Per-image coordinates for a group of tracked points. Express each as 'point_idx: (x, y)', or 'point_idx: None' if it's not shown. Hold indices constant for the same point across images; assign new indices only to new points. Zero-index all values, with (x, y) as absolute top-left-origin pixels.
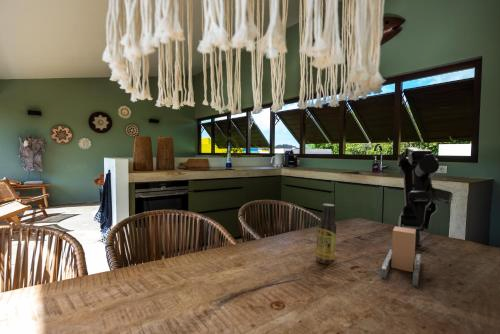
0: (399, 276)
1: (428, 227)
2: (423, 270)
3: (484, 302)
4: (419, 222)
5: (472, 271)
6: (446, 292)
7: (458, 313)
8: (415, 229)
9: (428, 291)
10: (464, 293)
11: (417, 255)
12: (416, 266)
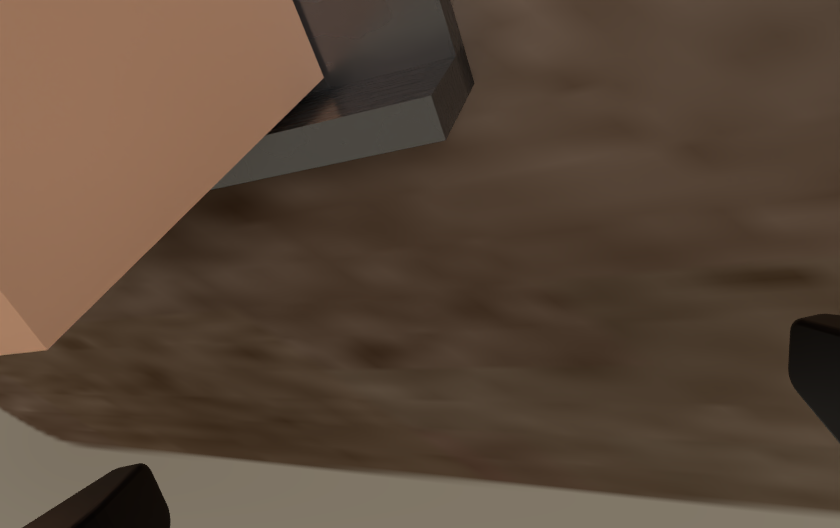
0: None
1: (831, 412)
2: None
3: (236, 433)
4: (94, 490)
5: (714, 409)
6: (166, 310)
7: (26, 360)
8: (30, 346)
9: None
10: (248, 374)
11: (373, 123)
12: None
